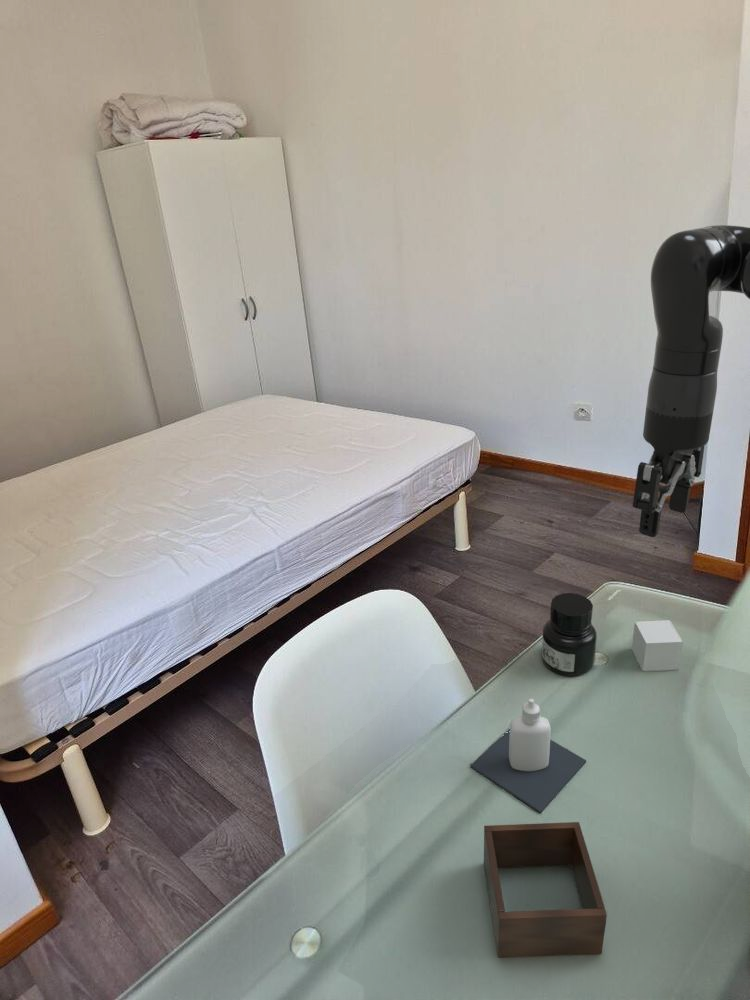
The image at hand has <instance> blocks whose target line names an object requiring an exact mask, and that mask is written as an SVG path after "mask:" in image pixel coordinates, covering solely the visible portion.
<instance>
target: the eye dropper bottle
mask: <svg viewBox="0 0 750 1000" xmlns="http://www.w3.org/2000/svg"><path fill="white" fill-rule="evenodd" d="M509 728H510V738H509V761H510V765H511V767H512V768H514V769H516V770H520V771H537V770H541V769H544V768H546V767H547V766H548V765H549V753H550V740H551V735H552V734H551V733H552V727H551V724H550V722H549V720H548V719H547V718H546V717H544V716H541V708H540V706H539V704H538V703H536V702H535V699H534V698H529V699H528V701H527V702H525V703H523V704H522V706H521V715H520V716H517V717H515V718H513V719H512V720H511V721H510V723H509Z"/></svg>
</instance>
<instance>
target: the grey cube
mask: <svg viewBox="0 0 750 1000" xmlns="http://www.w3.org/2000/svg"><path fill="white" fill-rule="evenodd" d="M683 643H684V641H683V640H682V638H681V636H680V635H679V633H678V631H677V630H676V628H675V626H674V625H673V623H672V622H671V620H668V619H666V620H647V621H646V620H642V621H640V620H639V621H634V626H633V634H632V642H631V651H632V653H633V655H634V657H635V659H636V661H637V663H638V665H639V667H640V669H641V671H642V672H657V671H659V672H661V671H678V670H679V667H680V662H681V655H682V648H683Z"/></svg>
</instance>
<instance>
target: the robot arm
mask: <svg viewBox="0 0 750 1000" xmlns="http://www.w3.org/2000/svg"><path fill="white" fill-rule="evenodd" d="M655 253H656V254H655V255H654V258H653V262H652V264H651V270H650V292H651V299H652V307H653V314H654V322H655V325H656V331H657V332H656V333H657V335H656V340H655V347H654V356H653V357H654V358H653V365H652V371H651V375H650V379H649V382H648V389H647V395H646V396H647V397H646V405H645V412H644V413H645V414H644V421H643V422H644V423H643V433H642V437H643V440H644V441H645V442H647V443H648V444H649V445H651V447H652V448H653V452H652V455H651V456H650V459H649V461H648V463H647V462H644V461H640V462H639V464H638V466H637V471H636V479H635V487H634V493H633V499H632V508H635V509H636V510H637V509H638V510H640V511H641V512H640V519H639V520H640V521H639V527H638V531H639V533H640V534H642V535H645V536H647V537H650V538H655V537H656V536H658V534H659V531H660V522H661V517H662V516H661V515H662V509H663V506H664V503H665V502H666V499H667V498H668V497H669V503H668V508H669V509H670V510H671V511H674V512H678V513H681V514H684V513H686V511H688V509H689V508H688V507H689V501H690V493H691V487H693V486H694V484H695V482H696V478H699V477H700V476H701V475H702V469H703V460H704V453H705V452H704V451H705V447H706V445H707V444H708V443H709V439H710V435H711V429H712V421H713V416H714V409H715V404H716V397H717V390H718V369H719V364H720V358H721V353H722V344H723V337H724V327H723V324H722V321H720V320H719V318H716V317H715V316H713V315H710V306H709V305H710V304H709V301H710V300H709V298H710V293H712V292H731V293H738V294H744V296H745V297H746V298H747V299H748V300H750V227H747V226H740V225H728V224H727V225H726V224H720V225H719V224H718V225H717V224H716V225H708V226H703V227H698V228H692V229H687V230H682V231H681V230H680V231H678V232H676V233H673V234H671V235H670V236H668V237H667V238H666V239H665V240H664V241H663V242H662V243H661V245H660V246H659V248H658V249H657V251H656V252H655ZM662 485H664V486H662Z"/></svg>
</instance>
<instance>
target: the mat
mask: <svg viewBox="0 0 750 1000" xmlns="http://www.w3.org/2000/svg"><path fill="white" fill-rule="evenodd" d="M508 729H509V728H508ZM508 729H507V730H508ZM507 730H506V731H505V732H508V733H505V732H504V733H503V734H502V735H504V736H502V735H501V736H502V737H501V736H499V737H498V739H497V740H496V741H494V742H493V743H492V744H491V745H490V746H489V747H488V748H487V749H486V750H485V751H484V752H483V753H482V754H481V755H480V756H478V757H477V759H475V760H474V761H473V763H471V764H470V768H471V769H472V770H474V771H476V772H477V773H478V774H480V775H482V776H483V777H485V778H486V779H488V780H489V781H491V782H492V783H494V784H495V785H496V786H497V787H499V788H501V789H502V790H504V791H506V792H507V793H509V794H510V795H512V796H513V797H514V798H516V799H517V800H519V801H520V802H522V803H523V804H525V805H527V807H530V808H531V809H533V810H534V811H535V812H537V813H538V814H542V812H543V811H544V810H546V808H547V807H548V806H549V805H550V803H551V802H552V801H553V800H554V799H555V798H556V796H558V795H559V793H560V792H561V791H562V790H563V789H564V788H565V787H566V785H567V784H569V782H570V781H571V780H572V779H573V778H574V776H576V774H577V773H579V771H580V770H581V769H582V767H583V766H584V765H585V764H586V763H587V759H585V758H583V757H581V756H580V755H578V754H577V753H574V752H573V751H571V750H570V749H568V748H566V747H564V746H562V745H561V744H559V743H557V742H556V741H554V740H552V739H550V753H549V765H548V766H547V767H546V768H544V769H541V770H537V771H520V770H516V769H514V768H512V767H511V765H510V761H509V738H510V732H509V731H510V729H509V730H508V731H507Z"/></svg>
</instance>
